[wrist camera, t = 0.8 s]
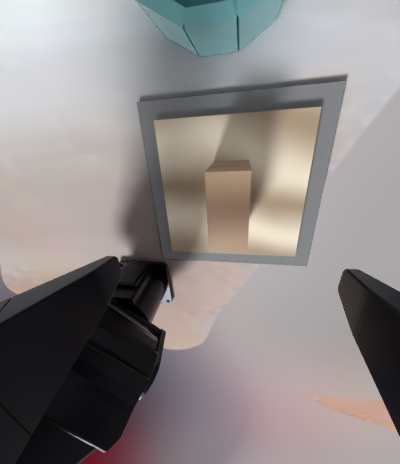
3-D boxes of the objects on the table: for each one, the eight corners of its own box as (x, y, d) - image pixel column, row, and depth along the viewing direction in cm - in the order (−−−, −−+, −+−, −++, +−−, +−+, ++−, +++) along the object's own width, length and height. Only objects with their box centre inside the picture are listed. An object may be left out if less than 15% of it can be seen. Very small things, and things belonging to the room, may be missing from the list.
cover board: (293, 253, 21) (310, 291, 16) (173, 248, 23) (156, 280, 18) (318, 107, 15) (355, 97, 10) (156, 120, 18) (123, 117, 13)
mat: (305, 263, 22) (306, 266, 21) (164, 256, 25) (163, 258, 24) (343, 81, 15) (346, 80, 14) (138, 102, 18) (136, 101, 17)
